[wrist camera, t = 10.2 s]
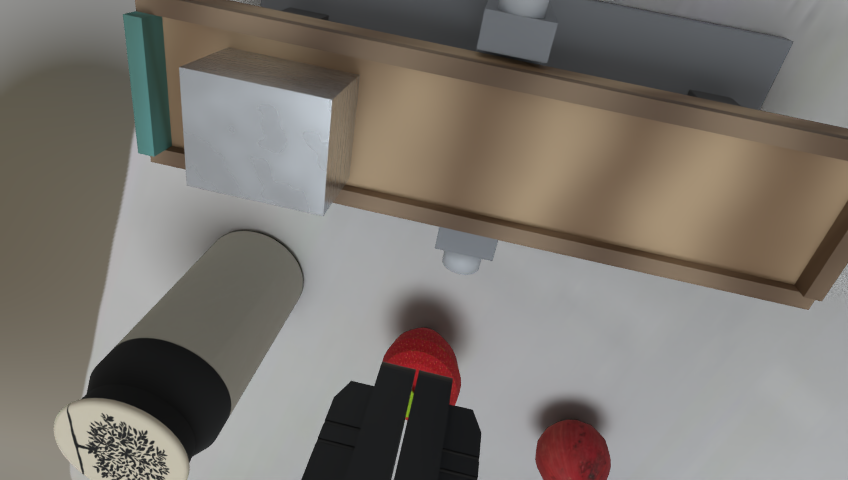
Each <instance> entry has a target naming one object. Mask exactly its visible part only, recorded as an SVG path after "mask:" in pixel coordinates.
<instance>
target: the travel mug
mask: <svg viewBox="0 0 848 480" xmlns="http://www.w3.org/2000/svg"><path fill="white" fill-rule="evenodd" d="M302 289H303V277H302V273H301V269H300V267H299V265H298V263H297V261H296V260H295V258H294V257H293V255H292V254H291V253H290V252H289V251H288V250H287V249H286V248H285V247H284V246H283V245H281V244H280V243H279V242H277V241H276V240H274V239H272V238H270V237H268V236H266V235H263V234H260V233H256V232H251V231H237V232H232V233H229V234H226V235H224V236H222V237H221V238H220V239H218V240H217V241H216V242H215V243H214V244H213V245H212V246H211V247H210V249H209V250H208V251H207V252H206V253H205V254H204V255H203V256H202V257H201V258H200V259H199V260H198V261H197V262H196V263H195V264H194V265H193V266H192V267H191V268H190V269H189V270H188V271H187V272H186V274H185V275H184V276H183V277H182V278H181V279H180V280H179V281H178V282H177V283H176V284H175V285H174V286H173V287H172V288H171V289H170V290H169V291H168V292H167V293H166V294H165V295H164V296H163V297H162V299H161V300H160V301H159V302H158V303H157V304H156V305H155V306H154V307H153V308H152V309H151V310H150V311H149V312H148V313H147V314H146V315H145V316H144V317H143V318H142V319H141V320H140V321H139V322H138V324H137V325H136V326H135V327H134V328H133V329H132V330H131V331H130V332H129V333H128V334H127V335H126V336H125V337H124V338H123V339H122V340H121V341H120V342H119V343H118V344H117V345H116V346H115V347H114V349H113V350H112V351H111V352H110V353H109V354H108V355H107V356H106V357H105V358H104V359H103V360H102V361H101V362H100V363H99V364H98V365H97V366H96V367H95V369H94V370H93V372H92V374H91V376H90V380H89V385H88V390H87V395H85V396H84V397H83V398H82V399H81V400H77V401H74V402H72V403H70V404H68V405H67V406H65V407H64V408H63V409H62V410H61V411H60V412H59V413H58V415H57V417H56V419H55V423H54V435H55V439H56V442H57V444H58V446H59V448H60V450H61V452H62V453H63V454H64V456H65V457H66V458H67V460H68V461H69V462H70V463H71V464H72V465H73V466H74V467H75V468H76V469H77V470H79V471H80V472H81V473H82V474H84V475H85V476H86V477H88V478H89V479H91V480H187V478H188V475H189V463H190V460H191V458H192V456H194V455H196V454H198V453H199V452H201V451H203V450H204V449H206V448H208V447H209V446H210V445H211V444H212V443H213V442H214V441H215V440H216V438H217V436H218V435H219V433H220V431H221V430H222V428H223V426H224V425H225V423H226V421H227V419H228V418H229V416H230V414H231V413H232V411H233V409H234V408H235V406H236V404H237V403H238V401H239V399H240V397H241V396H242V394H243V392H244V391H245V389H246V387H247V386H248V384H249V382H250V381H251V379H252V377H253V375H254V374H255V372H256V370H257V369H258V367H259V365H260V364H261V362H262V360H263V359H264V357H265V355H266V353H267V352H268V350H269V348H270V347H271V345H272V343H273V342H274V340H275V338H276V337H277V335H278V333H279V331H280V330H281V328H282V326H283V325H284V323H285V321H286V320H287V318H288V316H289V314H290V313H291V311H292V309H293V308H294V306H295V304H296V303H297V301H298V299H299V298H300V295H301V293H302Z"/></svg>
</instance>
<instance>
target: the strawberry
mask: <svg viewBox="0 0 848 480" xmlns="http://www.w3.org/2000/svg"><path fill="white" fill-rule="evenodd" d="M382 362H387V363H391V364H395V365H399V366H403V367H408V368H412V369H416V372H415V377H414V382H413V386H412V391H411V395H410V400H409V404H408V409H407V413H406V418H405V419H406V420H408V417H409V412H410V408H411V404H412V399H413V395H414V391H415V386H416V382H417V378H418V373H419V370H421V371H425V372H429V373H434V374H438V375H442V376H446V377H450V378H453V383H452V389H451V396H450V403H449V404H450V405H454V406H455V404H456V401H457V398H458V395H459V392H460V388H461V377H460V373H459V369H458V364H457V360H456V356H455V354H454V352H453V350H452V348H451V347H450V345H449V344H448V343H447V342H446V341H445V340H444V339H443V338H442V337H441V336H440V335H439V334H438V333H437V332H436V331H434V330H432V329H429V328H417V329H413V330H409V331H407V332H405V333H403V334H401V335H400V336H399V337H398V338H397V339H396V340H395V342H394V343H393V344H392V345H391V347H390V348H389V349H388V350H387V352H386V354H385V355H384V358H383V361H382Z"/></svg>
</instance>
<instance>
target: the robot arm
mask: <svg viewBox="0 0 848 480" xmlns="http://www.w3.org/2000/svg"><path fill="white" fill-rule="evenodd" d="M415 372H416V369H412V368H408V367H403V366H399V365H395V364H391V363H387V362H382V364H381V367H380V370H379V373H378V376H377V379H376V383H375V386H371V385H366V384H362V383H358V382H354V381H351V382H350V383H349V384H348V385H347V386H346V387H344V388H343V389H342V390H341V391H340V392H339V393H338V394H337V395H336V396H335V397H334V399H333V401H332V404H331V406H330V409H329V411H328V414H327V416H326V419H325V423H324V424H323V426H322V429H321V432H320V434H319V437H318V440H317V442H316V444H315V447H314V449H313V452H312V454H311V457H310V459H309V462H308V464H307V467H306V469H305V472H304V474H303V477H302V479H301V480H391V478H392V474H393V469H394V465H395V461H396V457H397V452H398V448H399V444H400V440H401V435H402V431H403V426H404V422H405V418H406V413H407V409H408V404H409V400H410V395H411V391H412V386H413V382H414V377H415ZM452 383H453V378H450V377H446V376H442V375H438V374H434V373H429V372H425V371H421V370H419V373H418V378H417V382H416V386H415V391H414V395H413V399H412V404H411V408H410V412H409V417H408V421H407V425H406V430H405V434H404V439H403V443H402V447H401V452H400V456H399V460H398V465H397V469H396V473H395V478H394V480H477V478H478V468H479V455H480V442H481V431H480V428H479V425H478V423H477V420H476V417H475V415H474V412H473V410H471V409H467V408H463V407H458V406H454V405H450V404H449V403H450V396H451V389H452Z"/></svg>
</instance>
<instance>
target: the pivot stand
mask: <svg viewBox="0 0 848 480" xmlns="http://www.w3.org/2000/svg"><path fill="white" fill-rule="evenodd" d="M261 7H264V8H269V9H273V10H278V11H283V12H288V13H293V14H297V15H302V16H307V17H312V18H317V19H322V20H326V21H331V22H336V23H341V24H346V25H351V26H355V27H360V28H365V29H370V30H375V31H379V32H384V33H389V34H394V35H399V36H404V37H408V38H413V39H418V40H423V41H428V42H432V43H437V44H442V45H447V46H452V47H457V48H461V49H466V50H471V51H476V52H481V53H485V54H490V55H495V56H500V57H505V58H510V59H514V60H519V61H524V62H529V63H534V64H539V65H543V66H548V67H553V68H558V69H563V70H567V71H572V72H577V73H582V74H587V75H592V76H596V77H601V78H606V79H611V80H616V81H620V82H625V83H630V84H635V85H640V86H645V87H649V88H654V89H659V90H664V91H669V92H673V93H678V94H683V95H688V96H693V97H698V98H702V99H707V100H712V101H717V102H722V103H727V104H731V105H736V106H741V107H746V108H751V109H755V110H760V108H761V106H762V104H763V102H764V100H765V98H766V96H767V94H768V92H769V90H770V88H771V86H772V84H773V82H774V80H775V78H776V76H777V74H778V72H779V70H780V68H781V66H782V64H783V62H784V60H785V58H786V56H787V54H788V52H789V50H790V48H791V46H792V44H793V41H791V40H788V39H786V38H783V37H778V36H773V35H768V34H763V33H758V32H753V31H748V30H743V29H738V28H733V27H728V26H723V25H718V24H713V23H708V22H703V21H698V20H693V19H687V18H682V17H677V16H672V15H667V14H662V13H657V12H652V11H647V10H642V9H637V8H632V7H627V6H622V5H617V4H612V3H607V2H602V1H597V0H261ZM497 242H498V240H496V239H492V238H487V237H483V236H478V235H474V234H470V233H465V232H461V231H456V230H452V229H447V228H443V227H439V231H438V236H437V241H436V246H435V248H436V249H440V250H445V251H444V255H443V260H442V262H443V264H444V266H445V267H446V268H447V269H449V270H450V271H452V272H455V273H458V274H464V275H468V274H473V273H475V272H477V271H478V269H479V265H480V262H481V259H485V260H490V261H492V260H493V257H494V253H495V250H496V246H497Z"/></svg>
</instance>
